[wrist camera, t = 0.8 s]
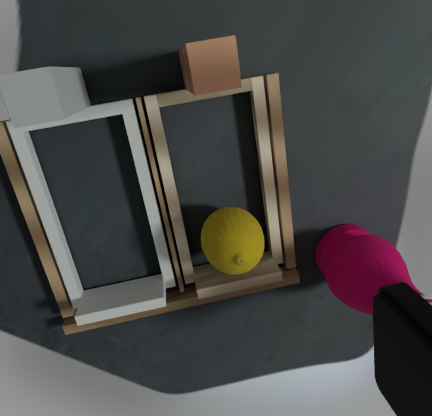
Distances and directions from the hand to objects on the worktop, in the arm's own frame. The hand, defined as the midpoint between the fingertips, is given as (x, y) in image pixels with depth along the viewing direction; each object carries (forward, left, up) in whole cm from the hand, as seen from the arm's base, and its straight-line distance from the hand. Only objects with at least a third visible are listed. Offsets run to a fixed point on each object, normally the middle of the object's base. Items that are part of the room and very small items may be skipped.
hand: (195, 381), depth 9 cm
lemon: (+8, +4, -27) cm, 28 cm away
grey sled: (+2, -7, -26) cm, 27 cm away
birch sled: (+2, +4, -26) cm, 27 cm away
